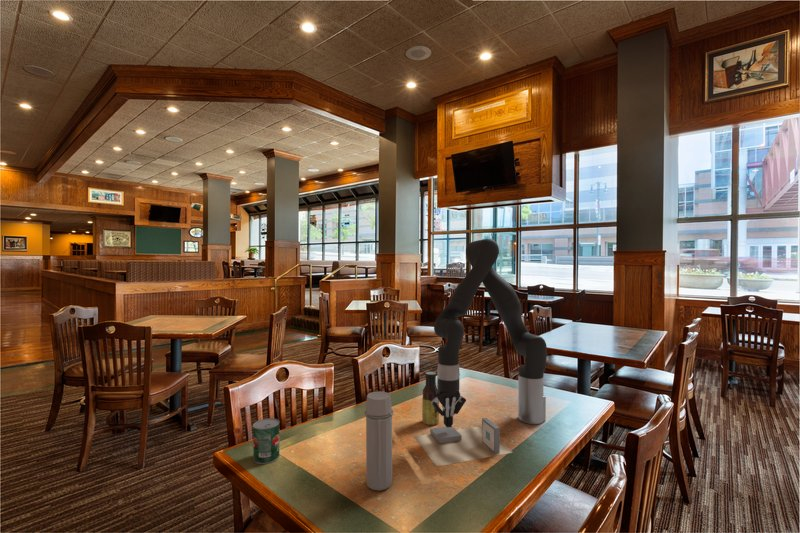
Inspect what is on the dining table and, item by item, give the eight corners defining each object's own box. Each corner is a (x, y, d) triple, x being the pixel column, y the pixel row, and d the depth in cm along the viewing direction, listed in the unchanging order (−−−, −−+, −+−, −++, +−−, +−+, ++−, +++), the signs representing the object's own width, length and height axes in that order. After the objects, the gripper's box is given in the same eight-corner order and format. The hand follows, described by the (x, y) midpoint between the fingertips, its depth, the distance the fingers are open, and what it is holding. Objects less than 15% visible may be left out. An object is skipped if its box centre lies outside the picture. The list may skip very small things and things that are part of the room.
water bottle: (365, 477, 110) (364, 391, 109) (392, 476, 110) (392, 390, 110) (365, 497, 100) (364, 403, 100) (394, 496, 101) (394, 402, 100)
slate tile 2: (486, 441, 128) (486, 417, 128) (499, 453, 120) (499, 427, 120) (481, 442, 127) (481, 418, 127) (494, 453, 120) (494, 428, 120)
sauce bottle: (438, 430, 139) (438, 376, 139) (421, 429, 141) (421, 375, 140) (439, 422, 146) (439, 371, 146) (423, 421, 147) (423, 370, 147)
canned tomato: (250, 456, 122) (249, 422, 121) (274, 448, 126) (274, 415, 126) (257, 467, 115) (257, 431, 115) (283, 458, 120) (283, 424, 120)
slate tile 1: (451, 425, 136) (430, 428, 134) (461, 435, 128) (439, 438, 126) (451, 430, 136) (430, 433, 134) (461, 440, 128) (439, 444, 126)
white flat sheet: (480, 430, 140) (480, 426, 140) (512, 457, 121) (512, 452, 121) (413, 440, 132) (413, 436, 132) (436, 471, 113) (436, 466, 113)
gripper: (460, 371, 136) (460, 419, 137) (426, 374, 132) (426, 424, 133) (471, 377, 129) (470, 428, 130) (434, 381, 125) (434, 433, 126)
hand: (448, 426), depth 131 cm, fingers closed
